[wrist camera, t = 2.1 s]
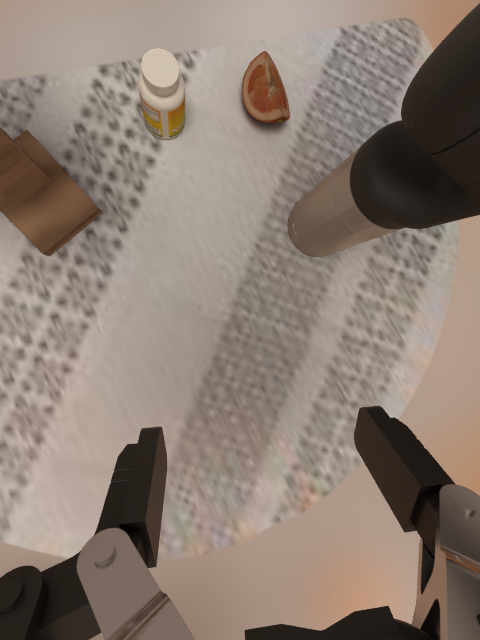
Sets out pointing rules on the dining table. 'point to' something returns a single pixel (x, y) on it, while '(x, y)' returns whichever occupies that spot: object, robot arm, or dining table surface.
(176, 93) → the supplement bottle
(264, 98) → the fruit slice
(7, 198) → the walnut stand
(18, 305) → the dining table surface
